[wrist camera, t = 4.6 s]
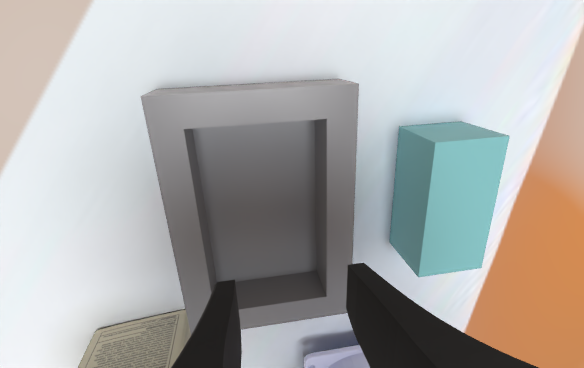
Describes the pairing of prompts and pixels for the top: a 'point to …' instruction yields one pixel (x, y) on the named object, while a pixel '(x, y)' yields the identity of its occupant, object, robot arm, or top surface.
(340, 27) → the top surface
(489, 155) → the peg
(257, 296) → the socket block
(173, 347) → the skincare box
